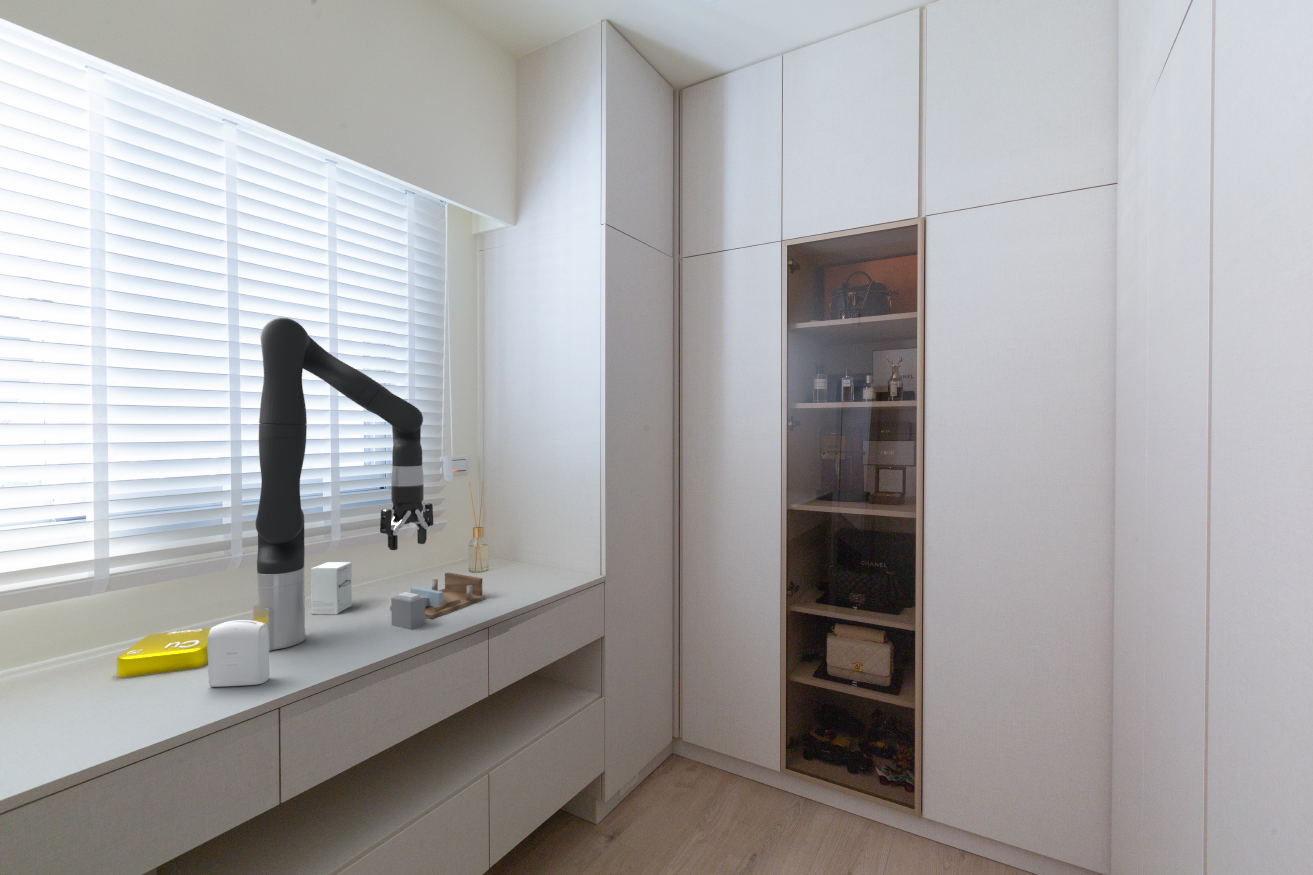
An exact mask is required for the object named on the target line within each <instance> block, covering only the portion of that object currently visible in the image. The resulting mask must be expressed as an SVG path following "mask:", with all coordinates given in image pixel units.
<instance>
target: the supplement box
mask: <svg viewBox="0 0 1313 875" xmlns="http://www.w3.org/2000/svg"><path fill="white" fill-rule="evenodd" d="M352 587H353V586H352V562H350V561H327V562H324V563H322V564H321V563H320V564H319V565H317V566H314V567H311V568H310V594H311V595H310V610H311V612H310V614H311V615H338V614H340V613H341V612H343V611H345V610H346V609H348V608H350V607H352V605H353V604H352V600H353V599H352V597H353V596H352V595H353V594H352V589H353V588H352Z"/></svg>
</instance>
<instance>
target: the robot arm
mask: <svg viewBox="0 0 1313 875" xmlns="http://www.w3.org/2000/svg"><path fill="white" fill-rule="evenodd" d="M259 339H260V346H261V353H262V354H261V356H262V367H263V383H262V384H263V385H262V391H261V397H260V398H261V399H260V408H259V419H258V420H259V421H258V423H259V424H258V453H259V454H258V455H259V467H260V475H261V476H260V477H261V485H260V486H261V487H260V495H259V504H258V508H257V513H256V514H257V515H256V518H255V529H256V533H257V556H256V557H257V558H256V559H257V560H256V581H257V582H256V584H257V586H256V588H257V589H256V592H257V594H256V595H257V596H256V599H257V601H256V602H257V603H256V604H254V605H253V608H252V612H253V613H252V614H253V615H252V618H253V619H252V621H257V622H261V623H264V624H266V625H267V627H268V635H269V652H270V651H271V652H272V651H273V650H274V651H275V650H279V649H285V648H289V647H293V646H297V645H298V644H300V643H302V642H304V640H305V639H306V613H305V612H306V611H305V610H306V606H305V601H306V600H305V598H306V595H305V593H306V591H305V587H306V586H305V582H306V581H305V577H306V576H305V575H306V574H305V556H306V555H305V553H306V550H305V514H304V511H303V509H302V500H301V475H302V471H303V467H304V466H303V465H304V461H305V453H306V445H307V432H308V429H307V424H308V422H307V408H306V401H305V394H304V389H303V371H304V370H305V371H307V372H308V373H310V374H312V375H314V376H316V377H318V378H319V379H320V380H323V382H325V383H327V384H328V385H329V386H331V387H332V388H334V389H335V390H336V391H338V392H339V393H341V394H342V395H344V396H345V397H346V398H348V399H349V400H351V401H352V402H354V403H355V404H357V405H358V406H360V407H361V408H363V409H365V410H366V411H368V412H370V413H372V414H375V415H377V416H378V417H380V419H382V420H384V421H385V422H387V423H388V424H389V425H391V430H392V433H391V434H392V444H393V445H392V452H391V453H392V454H391V455H392V464H391V465H392V468H391V477H390V478H391V482H390V484H391V488H390V491H391V502H392V508H389V509H386V508H382V509H380V524H379V526H380V527H379V532H380V534H383V535H387V548H389V550H391V551H397V550H398V549H399V546H398V544H399V543H398V541H399V540H398V533H399V531H400V529H401V528H403V526H405V525H408V524H410V523H411V524H412V523H413V524H414V525H415V526H416V527H417V528H418V529H417V544H419V545H425V544H426V542H427V537H428V535H427V534H428V533H427V532H428V531H427V530H428V528H429V527H432V526H434V511H433V510H434V508H433V504H432V503H430V502H423V501H424V495H425V494H424V489H425V488H424V483H425V482H424V468H423V448H422V445H421V444H422V443H421V439H422V437H421V433H422V431H421V430H422V428H421V427H422V425H423V422H424V416H423V414H422V412H421V410H420V409H419V408H418V407H416V406H415V405H413V404H412V403H410V402H408V401H406V400H405V399H403V398H401V397H400V396H398V395H396V394H394V393H393V392H391V391H390V390H389V389H388V388H386V387H385V386H384V385H382V384H381V383H379V382H377V381H376V380H374V379H373V378H372V377H370V376H368V375H367V374H366V373H363V372H362V371H360V370H358V369H357V368H355V367H353V366H351V365H349V364H347V363H346V362H343V361H342V360H340V359H338V358H337V357H335V356H334V355H332V354H331V353H330V352H328V351H327V350H325V349H324V348H323V347H322V346H321V345H320V344H319V343H317V342H316V340H314V339H313V338H312V337H311V336H310V335H309V333H308V332H307V330H306V329H305V328H304V326H303V325H301V324H300V323H299V322H297V321H295V320H294V319H292V318H289V317H276V318H274V319H271V320H269V321H268V322H267V323H266V324H265V325H264V326H263V327H262V329H261V332H260V338H259Z"/></svg>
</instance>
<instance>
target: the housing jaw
mask: <svg viewBox="0 0 1313 875" xmlns="http://www.w3.org/2000/svg"><path fill="white" fill-rule="evenodd" d="M410 593H413V594H418V595H419V596H422V597H425V607H427V606H431V607H437V606H439V605H442V604H443V592H441V591H439V590H438V591H436V590H432V589H430V588H424V587H419V586H412V587H410Z"/></svg>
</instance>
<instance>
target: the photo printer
mask: <svg viewBox="0 0 1313 875" xmlns="http://www.w3.org/2000/svg"><path fill="white" fill-rule="evenodd" d="M210 628H211V630H210V631H209V634H208V664H207V665H208V666H207V668H208V686H209V687H210V688H211V687H212V688H214V687H219V688H220V687H238V686H253V685H261V684H264V683H266V682H267V681H268V680H269V679H270V651H269V635H268V627H267V625H266V624H264V623H261V622H257V621H253V620H251V619H250V620H249V619H235V620H228V621H225V622H222V623H219V624H217V625H215V626H213V627H210Z"/></svg>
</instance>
